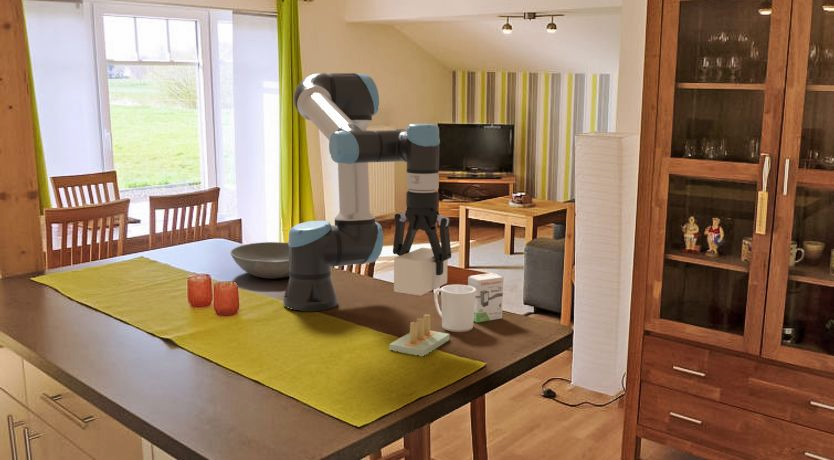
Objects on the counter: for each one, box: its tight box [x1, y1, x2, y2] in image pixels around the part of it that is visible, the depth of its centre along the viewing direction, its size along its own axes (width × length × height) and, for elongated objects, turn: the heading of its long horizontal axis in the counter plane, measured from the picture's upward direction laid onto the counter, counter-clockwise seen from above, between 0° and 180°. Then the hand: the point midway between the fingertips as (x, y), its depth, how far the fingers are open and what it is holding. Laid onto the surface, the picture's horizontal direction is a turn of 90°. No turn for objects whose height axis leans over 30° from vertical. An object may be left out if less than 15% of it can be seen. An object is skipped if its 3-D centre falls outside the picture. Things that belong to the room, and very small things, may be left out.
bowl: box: [230, 241, 289, 280], centre depth 255 cm, size 27×28×8 cm
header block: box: [389, 313, 450, 357], centre depth 190 cm, size 9×14×6 cm, turn 152°
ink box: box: [467, 272, 505, 323], centre depth 212 cm, size 9×5×12 cm, turn 121°
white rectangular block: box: [393, 247, 449, 297], centre depth 187 cm, size 14×7×8 cm, turn 152°
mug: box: [433, 284, 476, 333], centre depth 204 cm, size 11×9×10 cm
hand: (421, 285), depth 188 cm, fingers closed on white rectangular block, 7 cm apart
